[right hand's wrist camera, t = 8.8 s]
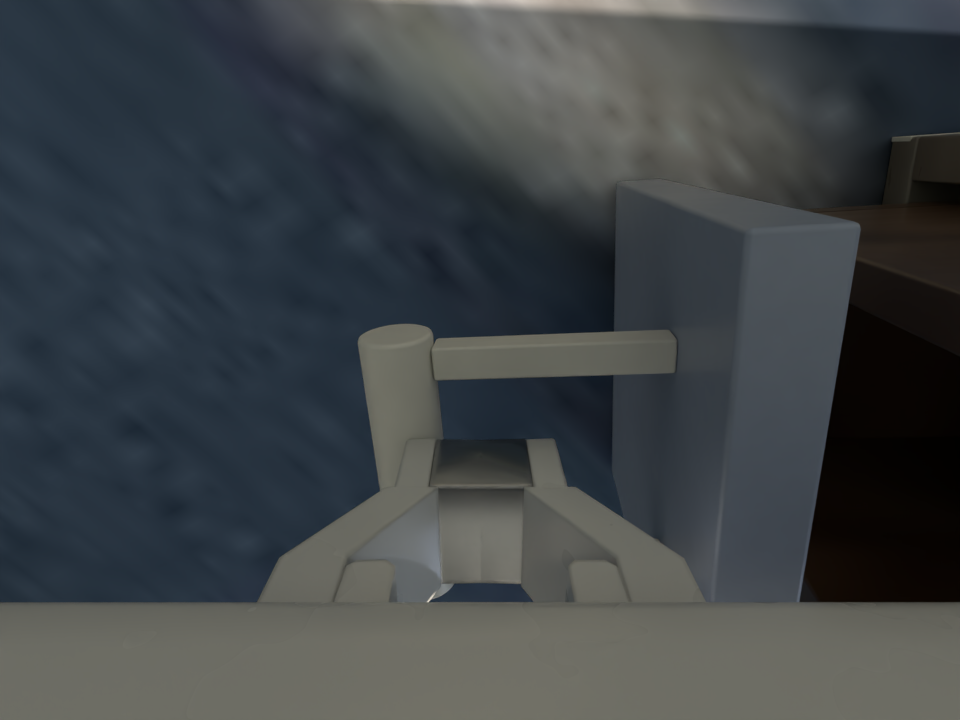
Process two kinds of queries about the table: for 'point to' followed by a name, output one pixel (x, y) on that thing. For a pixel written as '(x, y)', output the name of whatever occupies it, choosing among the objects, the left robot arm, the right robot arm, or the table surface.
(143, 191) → the table surface
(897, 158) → the cabinet
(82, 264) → the table surface
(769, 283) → the drawer
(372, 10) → the table surface
